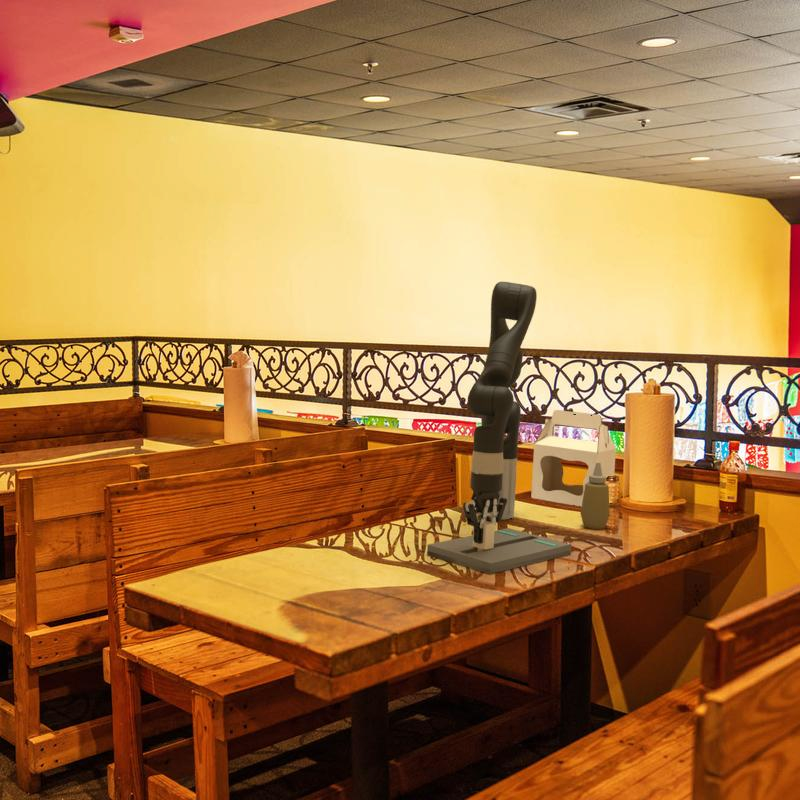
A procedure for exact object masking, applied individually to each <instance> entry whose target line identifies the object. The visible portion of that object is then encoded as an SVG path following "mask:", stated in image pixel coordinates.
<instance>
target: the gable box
mask: <svg viewBox="0 0 800 800" xmlns="http://www.w3.org/2000/svg"><path fill="white" fill-rule="evenodd" d="M573 414H576V415H573ZM591 415H592V416H591ZM551 416H552V417H551V418H545V421H544V422H545V423H544V427H543V429H542V430H541V432H540V434H539V435H538V437H537V438H536V441H535V442H534V444H533V456H532V457H533V458H532V459H533V460H532V461H533V462H532V477H531V479H532V480H531V491H530V492H531V494H530V495H531V497H530V498H532V499H536V500H539V501H547V502H551V503H552V502H553V503H558V504H563V505H569V506H573V505H575V507H579V506H580V508H581V507H582V501H583V495H584V489H585V484H586V483H588V482H589V475H593V473H594V469H595V466H596V463H601V470H602V476H606V478H607V477H608V476H614V477H615V469H616V454H617V453H616V451H617V448H616V445H615V444H614V442H613V439H612V437H611V435H610V432H609V425H604V424H603V420H604V419H603V417H602V416H601V415H600V414H597V413H596V414H595V413H594V414H593V413H589V412H588V413H587V412H580V411H578V412H577V411H568V410H560V409H555V410H554V411H552V415H551ZM555 426H566V427H575V428H582V429H589V430H590V429H591V430H595V431H596V430H597V431H598V438H597V439H598V441H592V440H587V439H577V438H571V437H570V438H569V437H561V436H556V435H555ZM562 460H565V461H570V462H571V461H572V462H582V463H585V464H586V465H587V467H588V468H587V469H588V470H587V473H586V474H585V477H584V479H583V484H573V485H568V484H565V483H564V482H563V477H564V467H563V464H562ZM605 484H606V483H605Z"/></svg>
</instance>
